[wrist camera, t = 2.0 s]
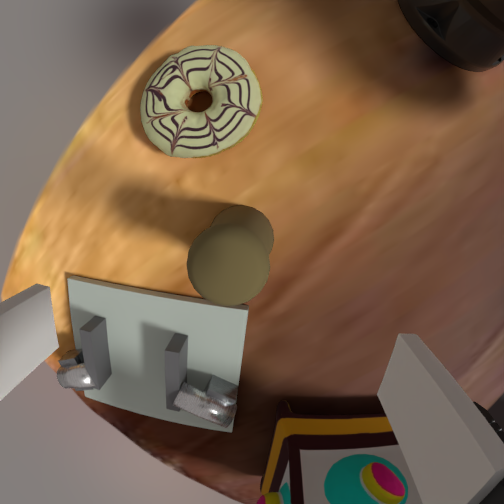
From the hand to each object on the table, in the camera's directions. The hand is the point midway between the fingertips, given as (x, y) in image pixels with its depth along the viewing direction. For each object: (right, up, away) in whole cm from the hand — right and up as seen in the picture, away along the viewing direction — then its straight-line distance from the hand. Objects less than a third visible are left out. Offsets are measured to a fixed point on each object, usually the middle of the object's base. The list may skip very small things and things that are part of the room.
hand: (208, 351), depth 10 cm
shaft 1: (-18, -10, +21) cm, 30 cm away
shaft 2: (-3, -12, +21) cm, 24 cm away
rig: (-10, -9, +22) cm, 25 cm away
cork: (+1, +5, +18) cm, 19 cm away
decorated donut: (-3, +17, +16) cm, 24 cm away
